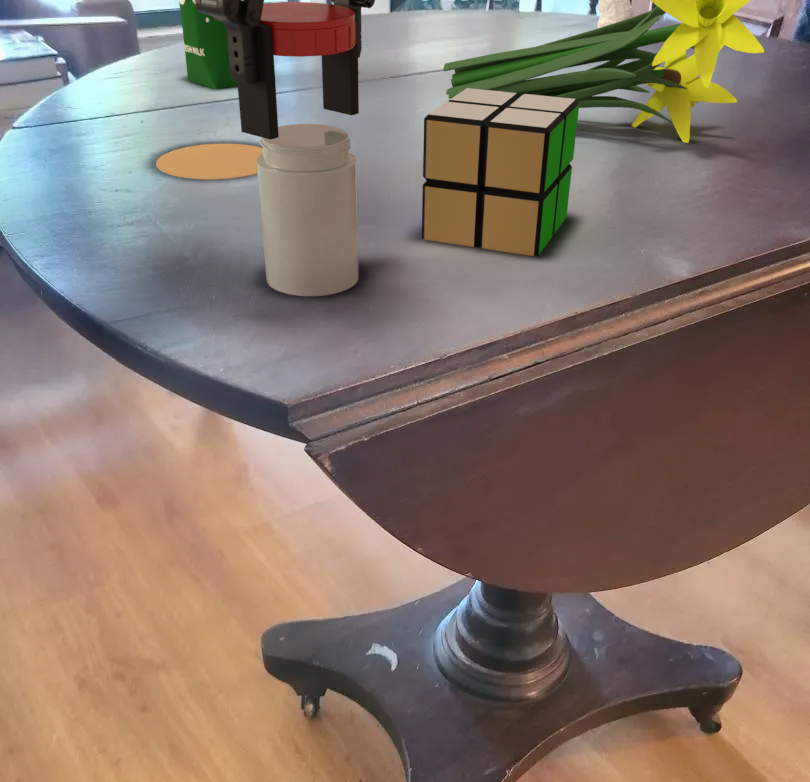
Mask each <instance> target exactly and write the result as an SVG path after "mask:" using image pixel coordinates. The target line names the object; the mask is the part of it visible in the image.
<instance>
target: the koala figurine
mask: <svg viewBox="0 0 810 782" xmlns="http://www.w3.org/2000/svg"><path fill="white" fill-rule="evenodd" d="M631 4H632V2H631V0H599V1H598V4H597V9H598V11H599V13H600V14H599V18H598V21H597V29H598V28H601V27H604V26H607V25H610V24H613V23H617V22H620V21H623V20H626V19H629V18H632V17H634V10H633V6H632V5H631Z"/></svg>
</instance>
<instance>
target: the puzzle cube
mask: <svg viewBox="0 0 810 782" xmlns="http://www.w3.org/2000/svg"><path fill="white" fill-rule="evenodd" d="M579 111H580V108H579V102H578V101H577V100H576V99H571V98H561V97H551V96H541V95H532V94H523V95H522V96H521V97H519V95H518V94H517V93H511V92H501V91H492V90H482V89H472V88H466V89H465V90H463V91H462V92H460V93H459V94H457V95H456V96H454V97H453V98H452V99H448V100H447V101H446V102H444V103H443V104H441V105H439V107H436V108H435V109H434V110H432V111H431V112H430V113H428V114H427V115H426V116H425V117H424V118H423V152H422V155H423V157H422V177H423V178H424V180H425V182H424V183H422V197H421V198H422V200H421V239H423V240H424V241H431V242H436V243H443V244H450V245H456V246H464V247H470V248H478V247H479V248H481V249H482V250H483V249H484V250H490V251H497V252H503V253H509V254H517V255H523V256H530V257H537V256H540V254H541V253H542V252H543V250H544V249H545V248H546V246H547V245H548V244H549V242H550V241H551V239H552V238H553V236H554V235H555V234H556V233H557V231H558V230H559V228H560V227H561V226H562V225H563V223H564V222H565V220H566V219H567V216H568V207H569V196H570V190H571V181H572V179H571V178H572V172H573V171H572V170H573V166H572V165H571V162H572V161H573V160H574V154H575V144H576V139H577V128H578V118H579Z"/></svg>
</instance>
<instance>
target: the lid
mask: <svg viewBox="0 0 810 782" xmlns="http://www.w3.org/2000/svg"><path fill="white" fill-rule="evenodd" d="M259 24H265V25H270V26H272V36H273V53H274V57H275V56H277V57H297V58H299V57H301V58H304V57H322V55H330V54H336V53H341V52H345V51H348V50H350V49H352V48H353V47H354V46H355V44H356V22H355V13H354V11H353V10H351V9H349V8H346V7H343V6H338V5H334V4H332V3H331V4H330V3H321V2H309V1H308V2H307V1H286V2H283V1H282V2H269V3H264V4H263V10H262V15H261V20H260V23H259Z"/></svg>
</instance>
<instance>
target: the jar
mask: <svg viewBox="0 0 810 782" xmlns="http://www.w3.org/2000/svg"><path fill="white" fill-rule="evenodd" d="M278 133H279V137H278V138H275V139H271V140H270V139H266V138H262V137H261V138H260V141H259V144H260V146H261V148H262V149H263V154H261V155H260V156H259V157H258V158H257V160H256V164H257V174H256V175H257V186H258V197H259V199H258V200H259V209H260V220H261V221H260V222H261V233H262V247H263V256H264V269H265V280H266V283H267V284H268V286H269V287H271V288H272V289H273V290H275V291H277V292H280V293H284V294H286V295H290V296H291V295H292V296H299V297H323V296H330V295H334V294H338V293H342V292H344V291H346V290H350V289H351V288H352V287H353V286H355V285H356V284H357V283H358V281H359V279H360V268H359V267H360V266H359V263H360V262H359V261H360V260H359V221H358V214H359V213H358V177H357V175H358V173H357V171H358V169H357V157H356V155H354V154H353V152H350V149H351V138H350V136H349V133H348V131H346V130H344V129H343V128H340V127H337V126H334V125H327V124H319V123H295V124H294V123H293V124H285V125H280V126H278Z"/></svg>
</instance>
